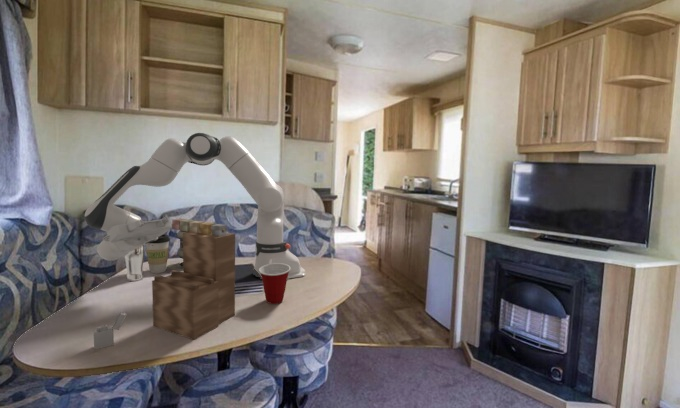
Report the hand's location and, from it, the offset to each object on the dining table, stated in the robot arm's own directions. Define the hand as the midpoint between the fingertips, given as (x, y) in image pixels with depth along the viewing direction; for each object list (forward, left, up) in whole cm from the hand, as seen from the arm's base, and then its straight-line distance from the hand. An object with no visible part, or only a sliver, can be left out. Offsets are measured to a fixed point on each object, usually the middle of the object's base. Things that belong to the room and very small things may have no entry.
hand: (154, 220), depth 116 cm
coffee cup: (+4, -35, -28) cm, 45 cm away
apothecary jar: (-9, -42, -28) cm, 51 cm away
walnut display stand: (-13, +20, -28) cm, 36 cm away
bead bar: (-14, +14, -2) cm, 19 cm away
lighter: (+7, +28, -28) cm, 40 cm away
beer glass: (+11, -26, -28) cm, 40 cm away
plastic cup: (-38, +10, -28) cm, 48 cm away
